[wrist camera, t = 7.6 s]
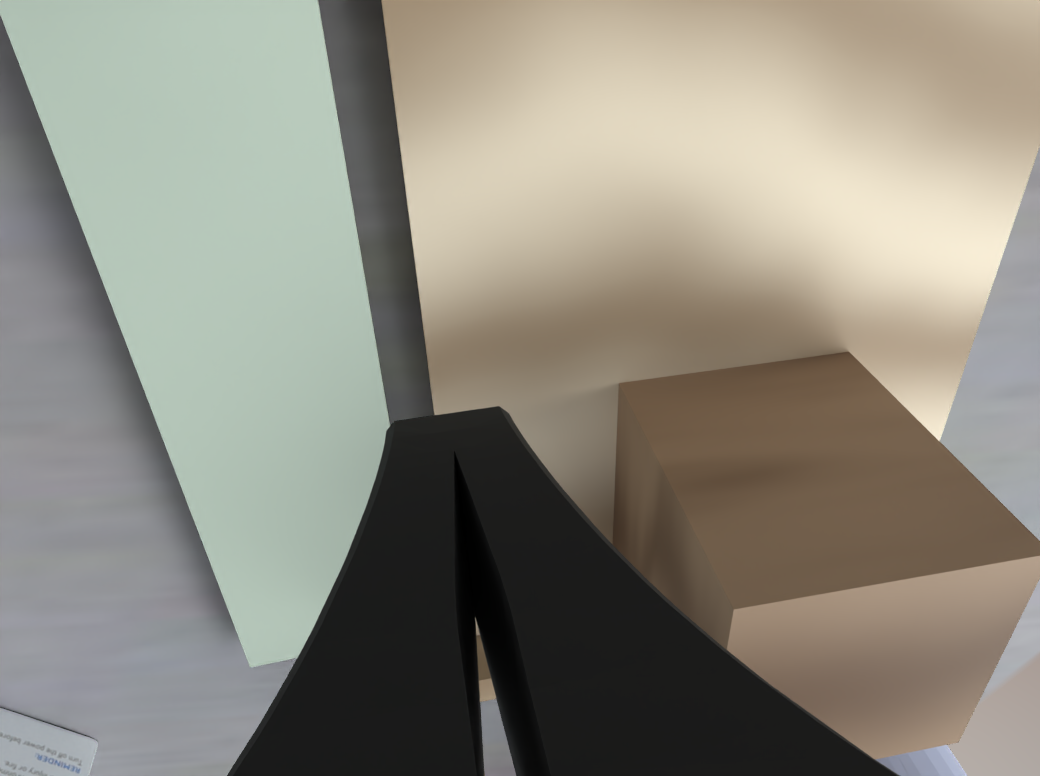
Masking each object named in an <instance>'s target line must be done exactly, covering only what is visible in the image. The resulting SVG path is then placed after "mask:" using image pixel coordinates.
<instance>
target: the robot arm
mask: <svg viewBox="0 0 1040 776" xmlns="http://www.w3.org/2000/svg"><path fill="white" fill-rule="evenodd" d="M475 618H476V621H475ZM476 622H477V625H478V629H479V633H480V637H481V641H482V645H483V649H484V653H485V656H486V660H487V664H488V668H489V672H490V676H491V680H492V683H493V687H494V691H495V695H496V699H497V703H498V706H499V710H500V714H501V718H502V722H503V726H504V729H505V733H506V737H507V741H508V745H509V749H510V753H511V756H512V760H513V764H514V768H515V772H516V776H967V774H966V773H965V771H964V770H963V768H962V767H961V765H960V764H959V762H958V761H957V759H956V758H955V756H954V755H953V753H952V752H951V750H950V749H949V747H948V746H947V745H943V746H938V747H934V748H929V749H924V750H919V751H914V752H909V753H904V754H900V755H895V756H890V757H885V758H880V759H873V758H872V757H871V756H869V755H868V754H866V753H865V752H864V751H862V750H861V749H860V748H858V747H857V746H855V745H854V744H853V743H851V742H850V741H848V740H847V739H846V738H844V737H843V736H841V735H840V734H839V733H837V732H836V731H834V730H833V729H832V728H830V727H829V726H827V725H826V724H825V723H823V722H822V721H820V720H819V719H818V718H816V717H815V716H813V715H812V714H811V713H809V712H808V711H806V710H805V709H804V708H802V707H801V706H799V705H798V704H797V703H795V702H794V701H792V700H791V699H790V698H788V697H787V696H786V695H784V694H783V693H781V692H780V691H779V690H777V689H776V688H774V687H773V686H772V685H770V684H769V683H768V682H766V681H765V680H764V679H763V678H761V677H760V676H759V675H758V674H756V673H755V672H754V671H753V670H751V669H750V668H749V667H748V666H746V665H745V664H744V663H743V662H741V661H740V660H739V659H738V658H736V657H735V656H734V655H733V654H731V653H730V652H729V651H728V650H726V649H725V648H724V647H723V646H721V645H720V644H719V643H718V642H717V641H715V640H714V639H713V638H712V637H711V636H710V635H708V634H707V633H706V632H705V631H704V630H703V629H701V628H700V627H699V626H698V625H697V624H696V623H694V622H693V621H692V620H691V619H690V618H689V617H688V616H686V615H685V614H684V613H683V612H682V611H681V610H680V609H678V608H677V607H676V606H675V605H674V604H673V603H672V602H671V601H670V600H669V599H667V598H666V597H665V596H664V595H663V594H662V593H661V592H660V591H659V590H658V589H657V588H656V587H655V586H654V585H653V584H652V583H650V582H649V581H648V580H647V579H646V578H645V577H644V576H643V575H642V574H641V573H640V572H639V571H638V570H637V569H636V568H635V567H634V566H633V565H632V564H631V563H630V562H629V561H628V560H627V559H626V558H625V557H624V556H623V555H622V554H621V553H620V552H619V551H618V550H617V549H616V548H615V547H614V546H613V544H612V543H611V542H610V541H609V540H608V539H607V538H606V537H605V536H604V535H603V534H602V533H601V532H600V531H599V530H598V528H597V527H596V526H595V525H594V524H593V523H592V522H591V521H590V519H589V518H588V517H587V516H586V515H585V514H584V513H583V511H582V510H581V509H580V508H579V507H578V506H577V505H576V503H575V502H574V501H573V500H572V499H571V498H570V496H569V495H568V494H567V493H566V492H565V491H564V490H563V488H562V487H561V486H560V485H559V483H558V482H557V481H556V480H555V478H554V477H553V476H552V475H551V473H550V472H549V471H548V470H547V468H546V467H545V466H544V464H543V463H542V462H541V460H540V459H539V458H538V456H537V455H536V454H535V452H534V451H533V450H532V448H531V447H530V445H529V444H528V443H527V441H526V440H525V438H524V437H523V435H522V434H521V432H520V431H519V429H518V428H517V426H516V424H515V423H514V421H513V420H512V418H511V416H510V414H509V413H508V412H507V411H505V410H504V409H503V408H501V407H500V406H496V407H489V408H482V409H475V410H468V411H461V412H454V413H447V414H440V415H434V416H427V417H420V418H413V419H406V420H399V421H394V423H393V424H392V425H391V426H390V427H389V428H388V429H387V430H386V437H385V443H384V448H383V452H382V457H381V461H380V464H379V468H378V471H377V475H376V478H375V481H374V484H373V487H372V490H371V493H370V496H369V499H368V503H367V505H366V508H365V511H364V513H363V516H362V518H361V521H360V523H359V526H358V529H357V531H356V534H355V536H354V539H353V541H352V544H351V546H350V549H349V552H348V554H347V556H346V559H345V561H344V563H343V566H342V568H341V570H340V572H339V574H338V577H337V579H336V581H335V583H334V585H333V587H332V589H331V591H330V594H329V596H328V598H327V600H326V602H325V604H324V606H323V608H322V610H321V613H320V615H319V617H318V619H317V621H316V623H315V625H314V627H313V629H312V631H311V633H310V635H309V637H308V639H307V641H306V643H305V645H304V647H303V649H302V650H301V652H300V654H299V656H298V658H297V660H296V662H295V664H294V665H293V667H292V669H291V671H290V673H289V674H288V676H287V678H286V680H285V682H284V683H283V685H282V687H281V688H280V690H279V692H278V694H277V695H276V697H275V699H274V701H273V702H272V704H271V706H270V707H269V709H268V711H267V713H266V714H265V716H264V718H263V719H262V721H261V723H260V724H259V726H258V728H257V729H256V731H255V732H254V734H253V736H252V737H251V739H250V740H249V742H248V743H247V745H246V747H245V748H244V750H243V751H242V753H241V754H240V756H239V758H238V759H237V761H236V762H235V764H234V765H233V767H232V769H231V770H230V772H229V773H228V775H227V776H484V762H483V744H482V726H481V708H480V691H479V673H478V655H477V638H476Z"/></svg>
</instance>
